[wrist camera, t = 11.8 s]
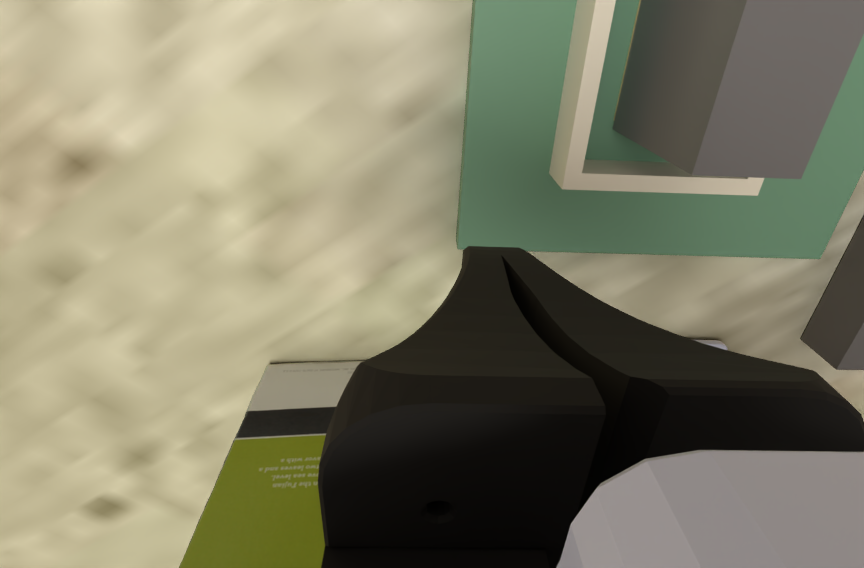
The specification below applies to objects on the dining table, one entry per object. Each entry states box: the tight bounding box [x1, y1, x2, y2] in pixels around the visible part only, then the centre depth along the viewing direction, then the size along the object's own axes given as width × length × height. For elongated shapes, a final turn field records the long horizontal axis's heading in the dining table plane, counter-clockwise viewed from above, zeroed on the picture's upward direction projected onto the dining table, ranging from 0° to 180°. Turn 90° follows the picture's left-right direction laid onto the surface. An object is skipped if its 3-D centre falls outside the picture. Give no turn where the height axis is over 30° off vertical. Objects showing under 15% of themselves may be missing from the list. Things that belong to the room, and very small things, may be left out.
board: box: [456, 0, 864, 259], centre depth 16 cm, size 16×16×3 cm
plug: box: [613, 0, 864, 179], centre depth 14 cm, size 6×3×6 cm, turn 177°
